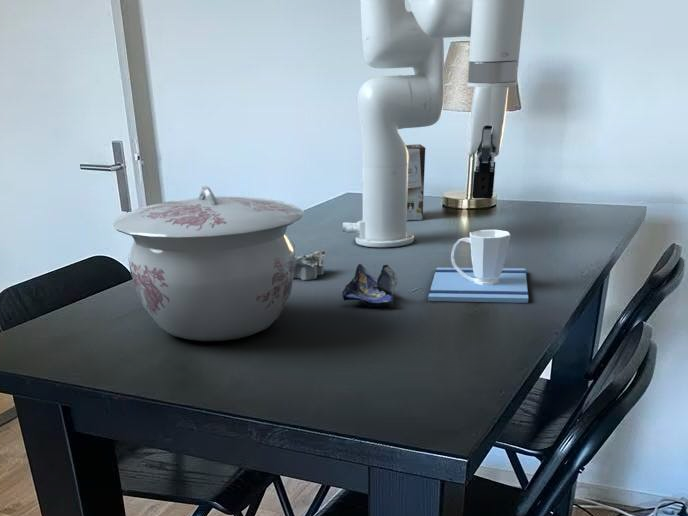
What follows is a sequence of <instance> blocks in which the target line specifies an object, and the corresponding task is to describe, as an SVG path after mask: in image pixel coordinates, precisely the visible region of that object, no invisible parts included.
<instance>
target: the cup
mask: <svg viewBox="0 0 688 516" xmlns="http://www.w3.org/2000/svg"><path fill="white" fill-rule="evenodd" d="M511 236H512V235H511V233H510V231H507V230H500V229H479V230H474V231H470V232H469V237H461V238H459V239H457V241H456V242H455V243H454V244H453V246H452V250H451V253H450V261H451V265H452V267H453V268H455V269H456V270H457V271H458V272H459V273H460V274H461V275H462V276H463V277H465V278H466V279H468V280H470V281H474V283H476V284H480V285H494V284H497V283H499V280H498V278H497V277H499V276H500V274H501V271H502V268H504V265H505V262H506V256H507V252H508V248H509V244H510V240H511ZM460 242H466V243H469V245H470V255H471V257H470V259H471V265H472V268H473V272H474V276H475V277H477V278H471V277H469V276H468V275H466V274H465V273H464V272H463V271H462V270H461V269H460V268H461V267H459V266H458V265H457V264H456V260H455V251H456V249H457V246H458V244H459V243H460Z"/></svg>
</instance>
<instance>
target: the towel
mask: <svg viewBox="0 0 688 516" xmlns="http://www.w3.org/2000/svg"><path fill="white" fill-rule="evenodd" d="M459 268H460V269H461V270H462V271H463V272H464V273H465V274H466V275H468V276H469V277H471V278H477V277H475V276H474V272H473V267H459ZM497 278H498V280H499V283H497V284H494V285H480V284H476V283H474V281H470V280H468V279H466V278H465V277H463V276H462V275H461V274H460V273H459V272H458V271H457V270H456V269H455V268H454V267H436V269H435V272H434V276H433V279H432V283H431V286H430V290H429V292H428V297H427V301H428V302H449V303H450V302H451V303H452V302H455V303H456V302H457V303H459V302H461V303H511V304H515V303H516V304H517V303H518V304H528V303H529V291H528V281H527V280H528V279H527V270H526V268H525V267H523V268H519V267H517V268H516V267H515V268H514V267H503V268H502V271H501V274H500V276H499V277H497Z"/></svg>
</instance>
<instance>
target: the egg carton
mask: <svg viewBox="0 0 688 516" xmlns="http://www.w3.org/2000/svg"><path fill="white" fill-rule="evenodd" d="M325 255H326V252H325V250H322V251H321V250H318V251H310V252H309V254H305V253H304V254H302V255H300V256H299V255H298V256H297V255H295V269H294V276H293V279H301V281H309V280H315V279H317V278H318V276H323V275H324V273H325V272H324V260H323V259H322V258H324V257H325Z"/></svg>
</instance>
